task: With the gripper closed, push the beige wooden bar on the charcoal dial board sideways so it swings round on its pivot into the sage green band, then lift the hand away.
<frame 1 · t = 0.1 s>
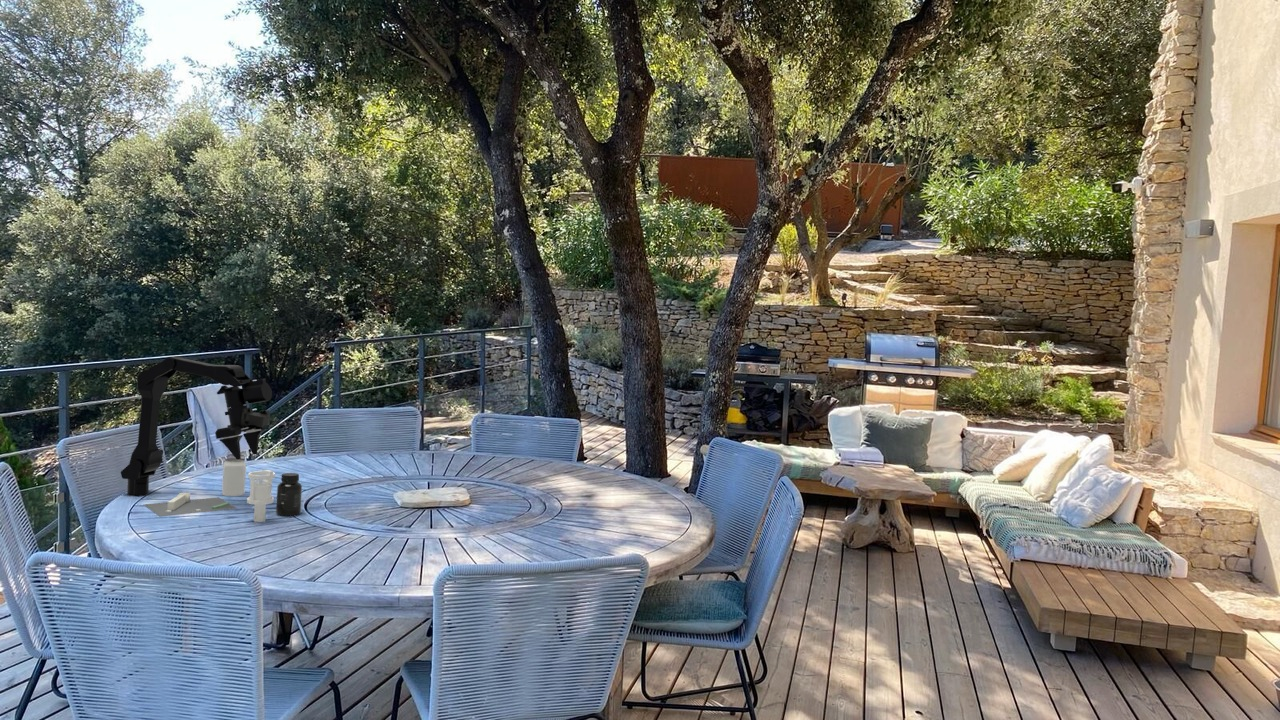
hand: (247, 456, 259), 15 cm above the table, tool pointing down, fingers open, 9 cm apart
beige wooden bar: (178, 501, 252), point 2 cm above the table, hinge at -35.0°
supplement bottle: (288, 514, 256), on the table
can: (233, 497, 272), on the table
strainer: (259, 521, 246), on the table
dial board: (190, 509, 253), on the table
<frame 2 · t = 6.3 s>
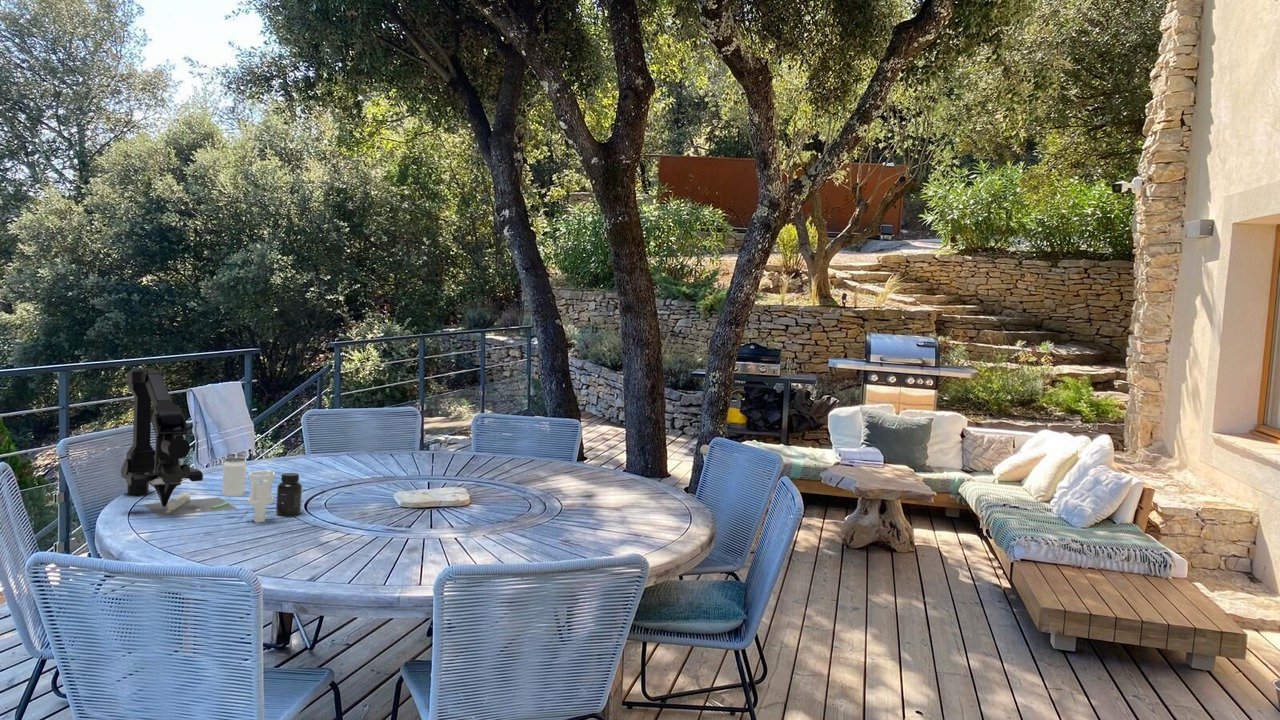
hand: (164, 506, 246), 2 cm above the table, tool pointing down, fingers closed
beige wooden bar: (178, 501, 252), point 2 cm above the table, hinge at -34.9°, touching gripper
everything else where it was.
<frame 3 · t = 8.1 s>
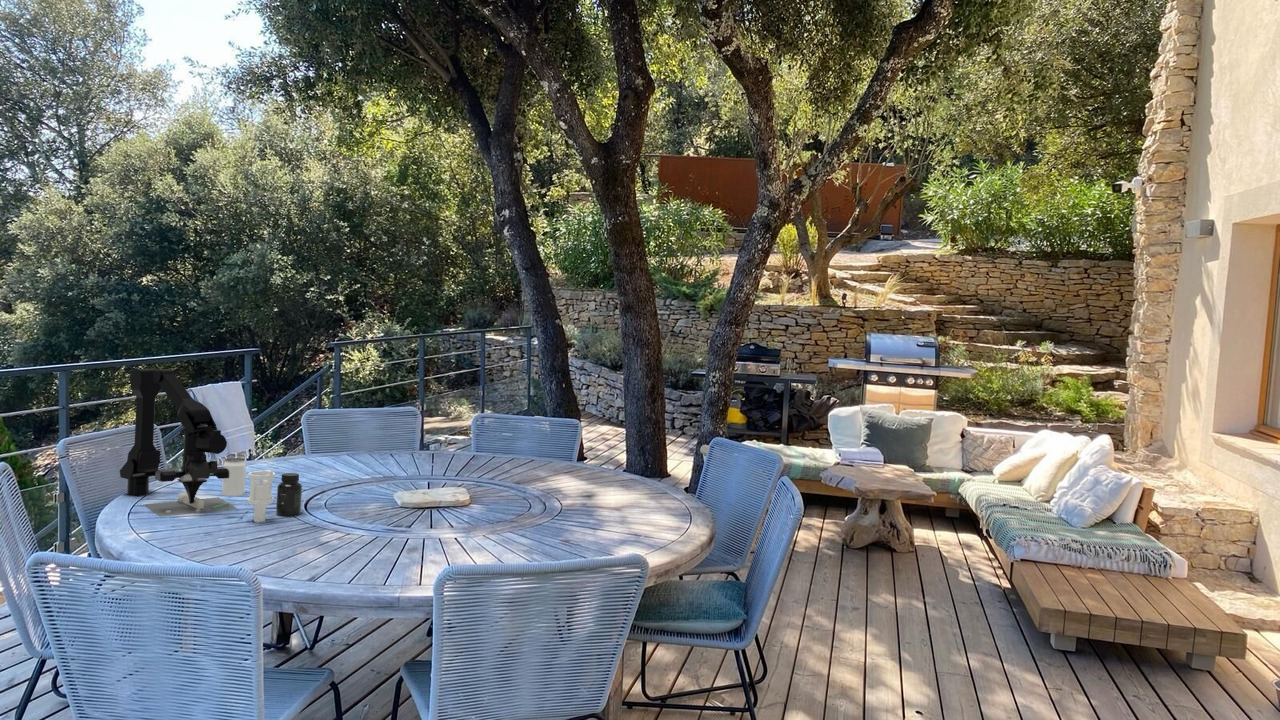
hand: (191, 503, 251), 2 cm above the table, tool pointing down, fingers closed
beige wooden bar: (191, 500, 254), point 2 cm above the table, hinge at 6.6°, touching gripper
everything else where it was.
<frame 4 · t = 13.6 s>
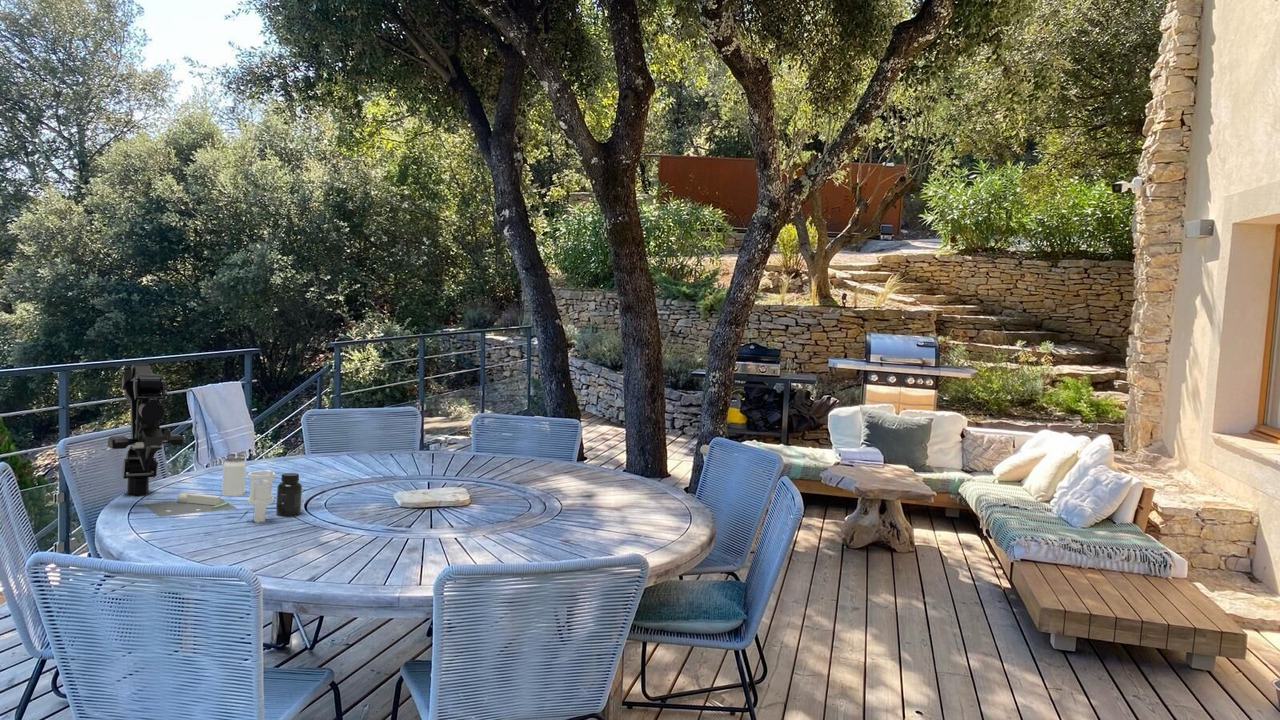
hand: (145, 470, 251), 11 cm above the table, tool pointing down, fingers closed
beige wooden bar: (198, 499, 256), point 2 cm above the table, hinge at 39.2°
everything else where it was.
at the end: beige wooden bar at +39° (first picture: -35°); can moved 0.2 cm from its start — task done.
